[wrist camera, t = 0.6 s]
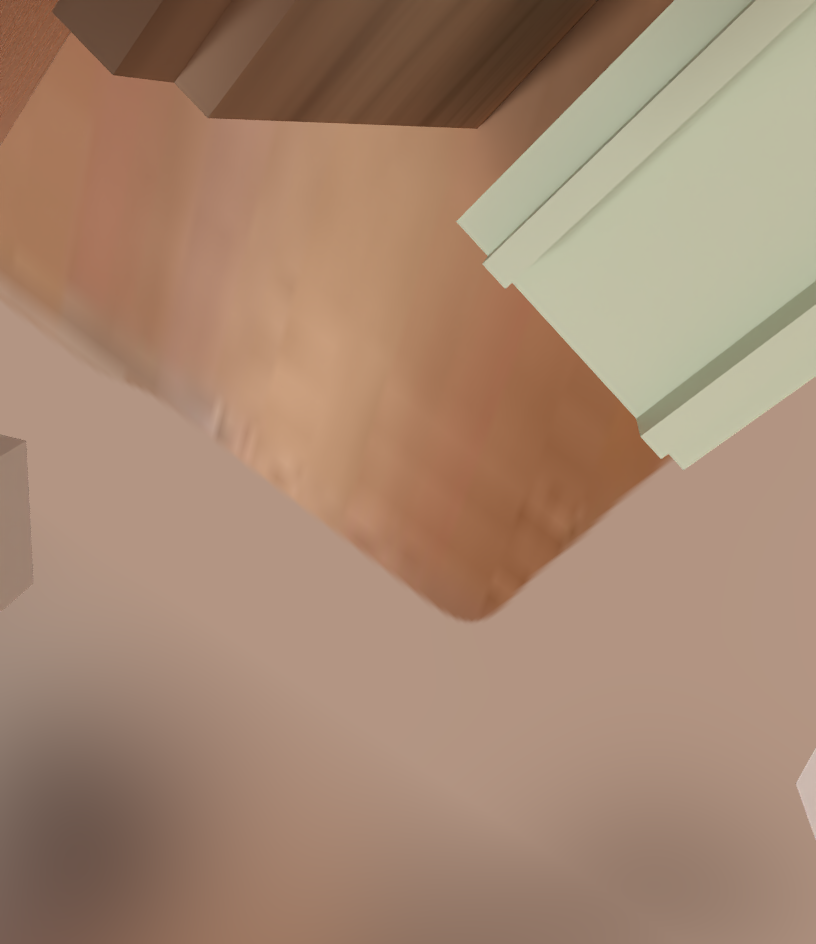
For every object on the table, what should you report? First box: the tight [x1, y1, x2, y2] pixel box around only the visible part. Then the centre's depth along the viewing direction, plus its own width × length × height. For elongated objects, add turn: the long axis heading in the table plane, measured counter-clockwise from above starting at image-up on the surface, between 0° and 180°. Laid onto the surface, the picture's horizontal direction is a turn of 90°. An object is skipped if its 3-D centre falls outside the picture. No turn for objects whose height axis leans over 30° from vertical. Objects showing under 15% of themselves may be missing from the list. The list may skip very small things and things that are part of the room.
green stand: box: [456, 0, 816, 470], centre depth 29 cm, size 10×12×22 cm
